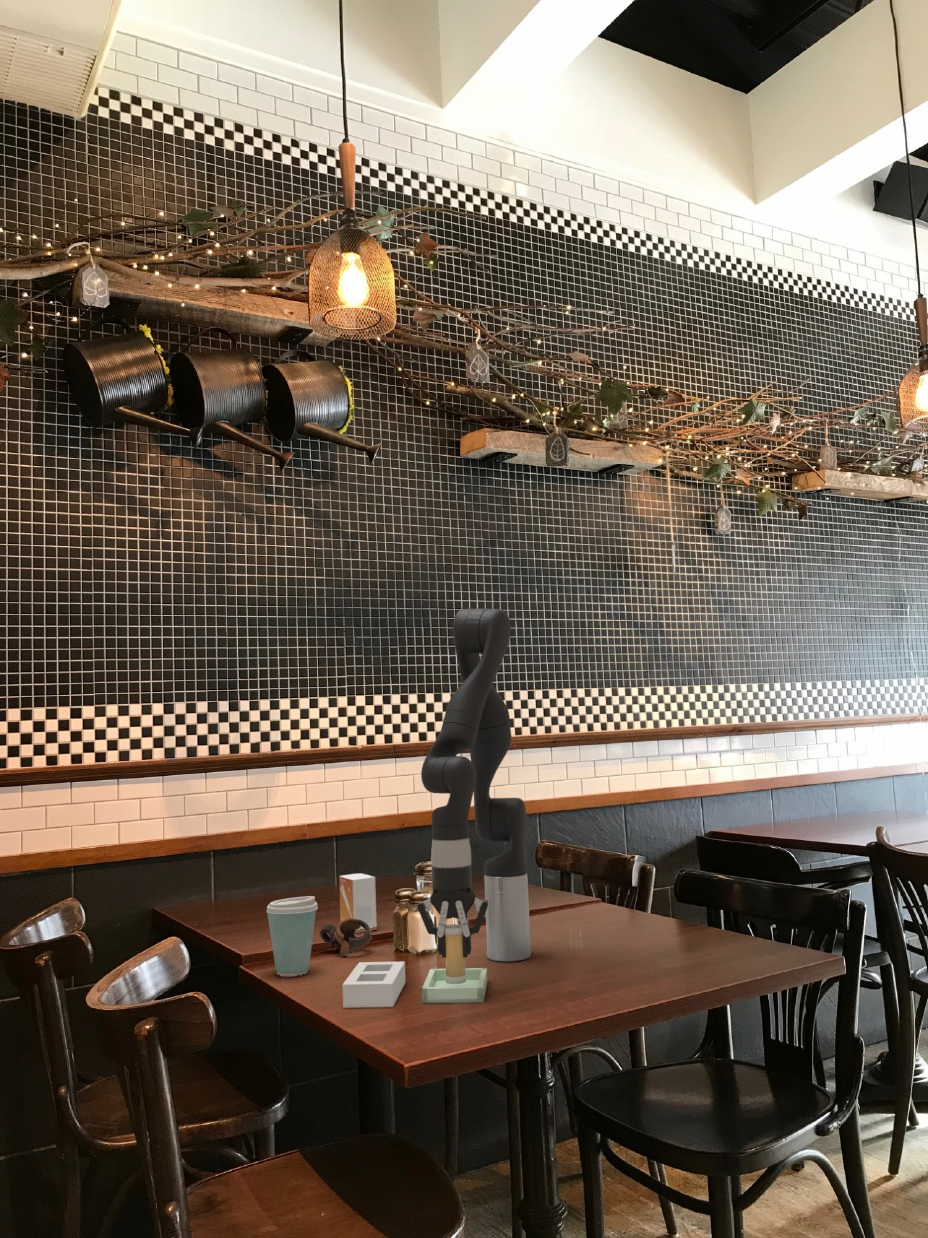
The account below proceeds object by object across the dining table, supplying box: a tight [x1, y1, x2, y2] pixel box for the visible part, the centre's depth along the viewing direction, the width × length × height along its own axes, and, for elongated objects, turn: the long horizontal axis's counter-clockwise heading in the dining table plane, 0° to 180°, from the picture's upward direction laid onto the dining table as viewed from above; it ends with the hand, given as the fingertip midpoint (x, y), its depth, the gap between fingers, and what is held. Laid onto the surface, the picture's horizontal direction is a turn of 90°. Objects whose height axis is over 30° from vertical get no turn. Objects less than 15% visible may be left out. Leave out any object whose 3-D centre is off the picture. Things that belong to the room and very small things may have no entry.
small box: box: [338, 872, 378, 930], centre depth 241 cm, size 8×6×13 cm
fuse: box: [444, 923, 466, 984], centre depth 184 cm, size 4×4×10 cm
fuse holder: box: [342, 961, 406, 1009], centre depth 183 cm, size 16×9×4 cm, turn 175°
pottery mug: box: [319, 918, 373, 957], centre depth 218 cm, size 12×10×8 cm
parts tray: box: [421, 967, 489, 1004], centre depth 183 cm, size 14×11×2 cm
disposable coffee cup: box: [266, 895, 319, 978], centre depth 202 cm, size 11×11×15 cm
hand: (454, 956), depth 184 cm, fingers closed on fuse, 3 cm apart
